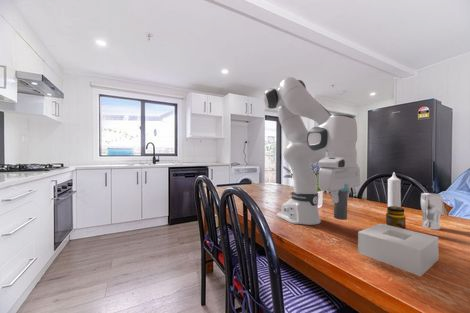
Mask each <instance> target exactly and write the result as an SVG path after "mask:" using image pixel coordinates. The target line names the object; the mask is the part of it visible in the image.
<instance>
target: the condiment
mask: <svg viewBox="0 0 470 313" xmlns="http://www.w3.org/2000/svg"><path fill="white" fill-rule="evenodd" d="M385 215H386V216H385V224H386V225H389V226H394V227H398V228H402V229H406V230H407V228H406V226H407V224H406V220H407V219H406V215H405V209H404V208H403V207H395V206H389V207H388V206H387V210H386V214H385Z"/></svg>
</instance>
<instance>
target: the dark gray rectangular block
mask: <svg viewBox="0 0 470 313" xmlns="http://www.w3.org/2000/svg"><path fill="white" fill-rule="evenodd" d="M338 197H340V202H339V203H334V202H333V218H335V219H336V220H341V221H345V220H347V219H348V200H347V197H348V198H349V196H348V184H344V189H341V190H339V193H338Z"/></svg>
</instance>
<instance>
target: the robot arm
mask: <svg viewBox="0 0 470 313" xmlns="http://www.w3.org/2000/svg"><path fill="white" fill-rule="evenodd" d="M263 101H264V104H265V106H266V107H267V108H268V109H269V110H270V109H271V110H272V109H277V108H278V109H277V116H278V121H279V124H280V126H281V128H282V131H283V133H284V136H285V138H286V140H288V142H290V143H289V144H287V145H286V146H285V147H284V149H283V158H284V160H285V162H286V164H288V166H289V167H290V169H291V173H292V175H293V176H292V177H293V191H292V192H290V193H289V195H290V196H291V197H290V199H288V200H287V201H286V202H284V203H283V204H282V205H281V208H280V210H281V211H279V212H277V213H276V216H277V217H278V218H281V219H282V220H285V221H287V222H289V223H290V224H293V225H308V226H312V225H318V224H320V223H321V222H322V220H321V218H320V217H321V216H320V213H319V207H318V204H319V193H318V188H319V189H320V190H321V191H324V192H329V193H330V195H331V198H332V199H331V200H332V202H333V204H334V203H339V202H340V197H338V193H339V190H341V189H344V184H348V197H347V201H349V196H350V193H351V189H353V188H357V187H360V185H361V171H360V167H359V166H358V163H357V162H358V161H357V157H358V155H357V148H356V145H357V141H358V123H357V119H356V118H355V116H353V115H351V114H341V113H337V114H336V113H334V114H331V113H330V112H329V110H328V109H326V108H325V107H324V105H322V104H321V103H320V102H319V101H318V100H317V99H315V97H313V96H312V94H311V93H310V92H309V91H308V90H307V88H306V84H305V82H304V81H303V80H302V79H301V80H300V79H297V78H296V77H294V76H293V77H291V76H289V77H286V78H284V79H283V80H281V82H280V83H279V85H276V86H273V87H270V88H267V89H266V90H265V91H264V92H263ZM302 117H303V118H308V119H309V120H312V121H314V122H315V123H316V124H318V125H317V126H313V127H312V128H311V129H310V130H308V128H307V127H306V125H305V123H304V121H303V119H302ZM326 155H327V156H326ZM316 164H317V165H318V167H319V170H318V177H317V175H316V174H315V173H314V172H313V169H312V165H316Z"/></svg>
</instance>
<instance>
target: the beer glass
mask: <svg viewBox="0 0 470 313" xmlns="http://www.w3.org/2000/svg"><path fill="white" fill-rule="evenodd" d="M442 198H443V197H442V194H439V193H431V192H421V193H420V208H421V214H422V223H421V227H422V228H424V229H427V230H434V231H439V230H441V229H442V228H441V224H440V220H441V219H440V218H441V214H442V209H443V200H442Z"/></svg>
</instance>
